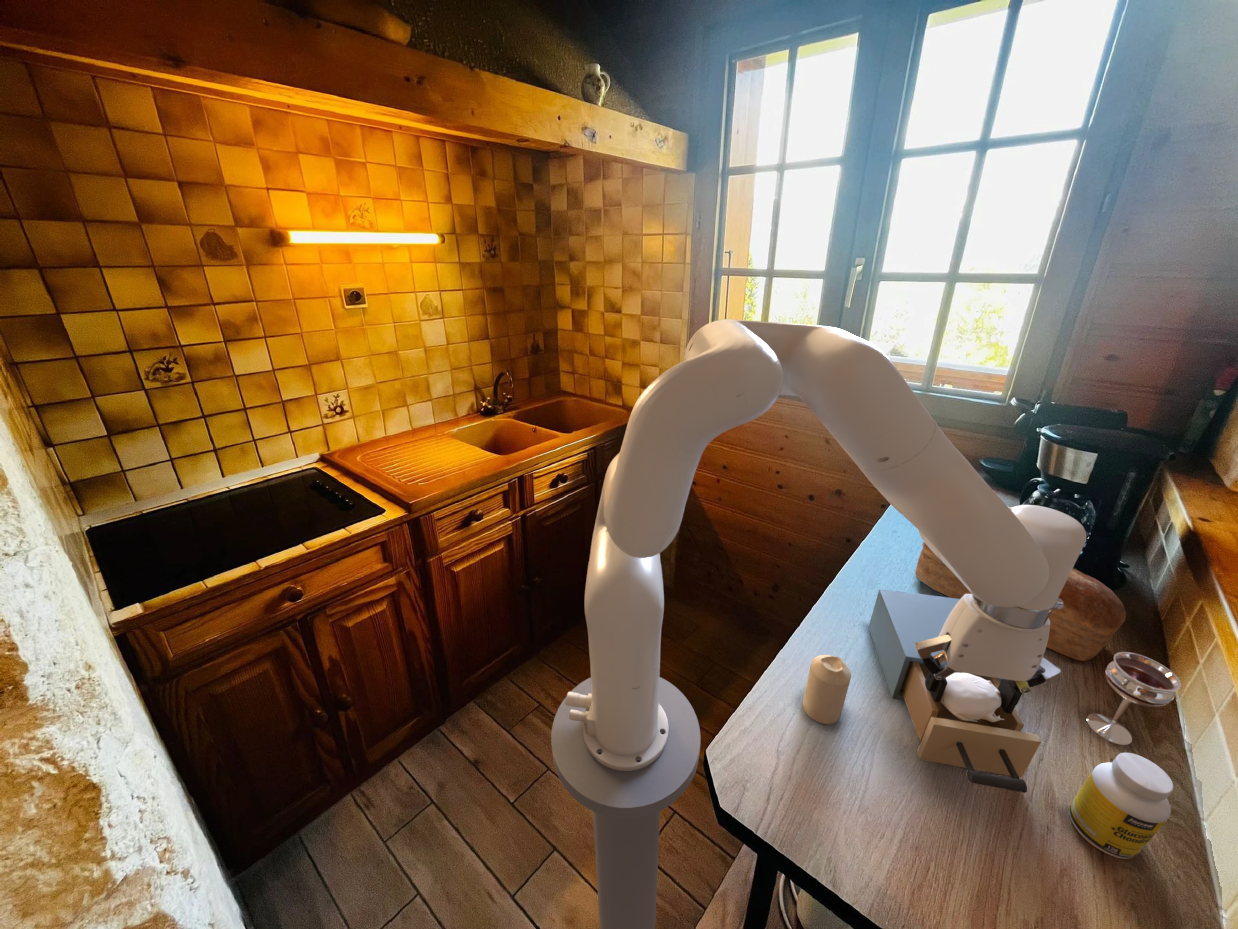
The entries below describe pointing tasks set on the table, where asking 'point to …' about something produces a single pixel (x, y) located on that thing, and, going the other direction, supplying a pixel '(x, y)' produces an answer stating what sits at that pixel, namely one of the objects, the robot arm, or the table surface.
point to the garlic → (971, 697)
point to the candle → (826, 688)
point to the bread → (1072, 628)
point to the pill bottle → (1122, 805)
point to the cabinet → (905, 630)
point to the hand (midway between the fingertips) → (967, 698)
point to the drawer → (969, 736)
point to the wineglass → (1134, 691)
